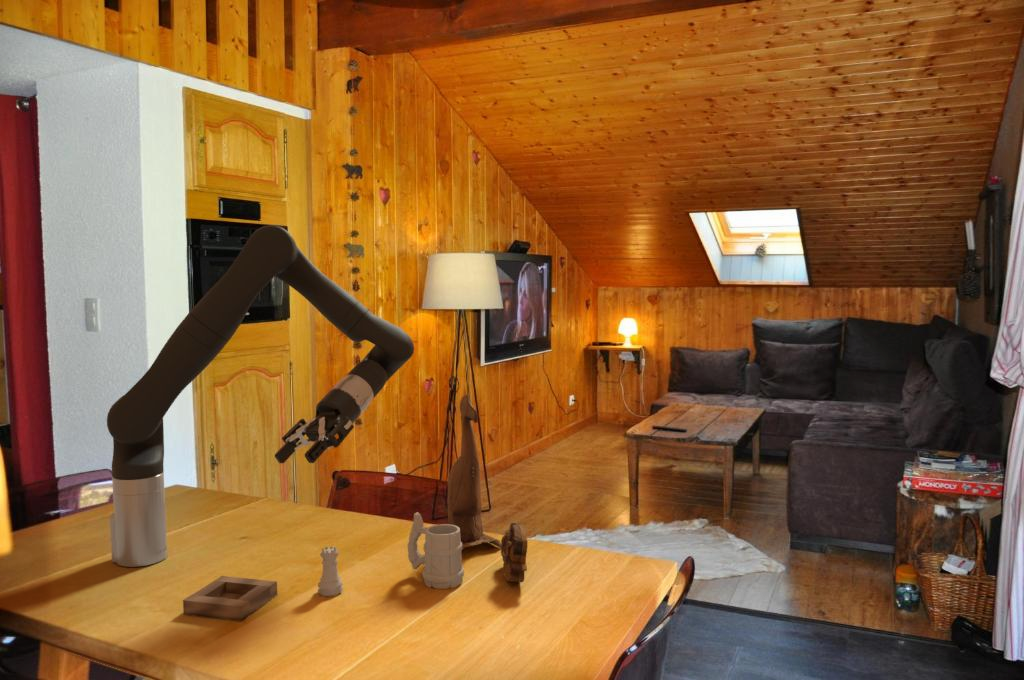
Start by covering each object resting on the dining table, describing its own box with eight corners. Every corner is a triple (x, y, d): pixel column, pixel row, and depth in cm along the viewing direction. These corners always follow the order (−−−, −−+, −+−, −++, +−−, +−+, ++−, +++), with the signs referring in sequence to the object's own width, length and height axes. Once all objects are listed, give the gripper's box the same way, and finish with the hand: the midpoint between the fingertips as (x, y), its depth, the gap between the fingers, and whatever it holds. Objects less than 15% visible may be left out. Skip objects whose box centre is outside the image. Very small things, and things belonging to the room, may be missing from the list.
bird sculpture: (457, 562, 160) (460, 402, 156) (425, 545, 169) (427, 393, 165) (502, 550, 167) (506, 397, 163) (469, 534, 176) (471, 388, 172)
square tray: (183, 614, 136) (182, 600, 135) (222, 589, 146) (222, 575, 146) (241, 621, 133) (241, 606, 133) (277, 595, 144) (276, 581, 143)
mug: (448, 593, 144) (447, 527, 143) (396, 580, 150) (395, 516, 149) (472, 578, 151) (471, 515, 150) (421, 567, 157) (420, 506, 156)
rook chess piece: (348, 589, 146) (347, 545, 146) (334, 598, 142) (333, 554, 141) (326, 586, 148) (325, 543, 147) (312, 595, 143) (311, 551, 143)
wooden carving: (492, 563, 158) (492, 513, 158) (515, 561, 159) (515, 512, 159) (509, 597, 142) (509, 541, 142) (535, 594, 143) (535, 539, 142)
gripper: (311, 389, 160) (257, 445, 149) (361, 385, 151) (307, 443, 140) (330, 419, 163) (279, 475, 152) (380, 416, 154) (329, 475, 143)
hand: (292, 459), depth 146 cm, fingers open, 8 cm apart
